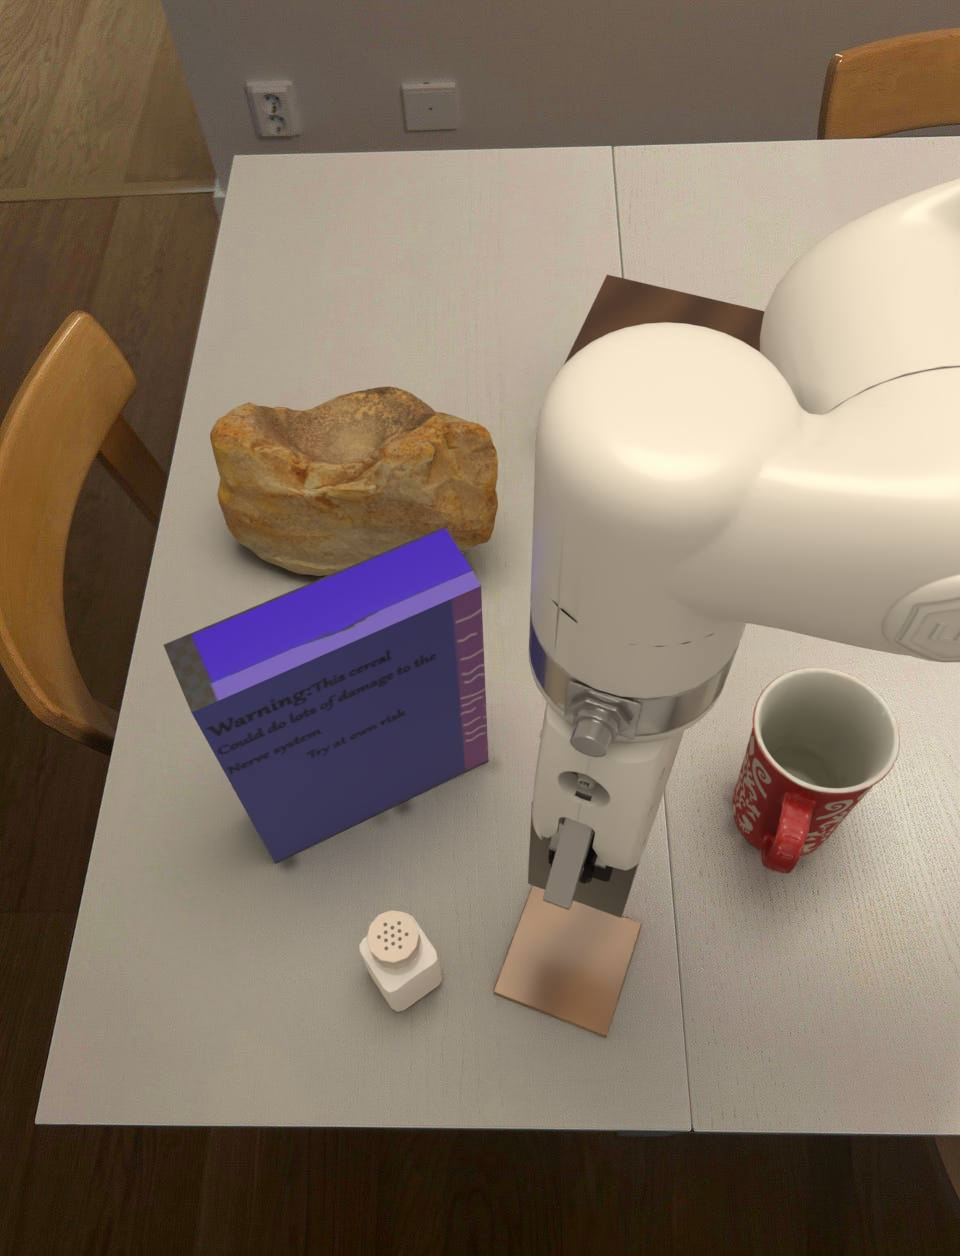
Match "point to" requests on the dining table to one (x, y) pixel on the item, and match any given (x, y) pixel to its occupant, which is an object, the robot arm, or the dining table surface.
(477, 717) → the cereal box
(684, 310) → the cabinet
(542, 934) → the plate
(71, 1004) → the dining table surface
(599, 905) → the metal block
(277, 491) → the rough brown rock
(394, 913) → the pepper shaker
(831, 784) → the mug
